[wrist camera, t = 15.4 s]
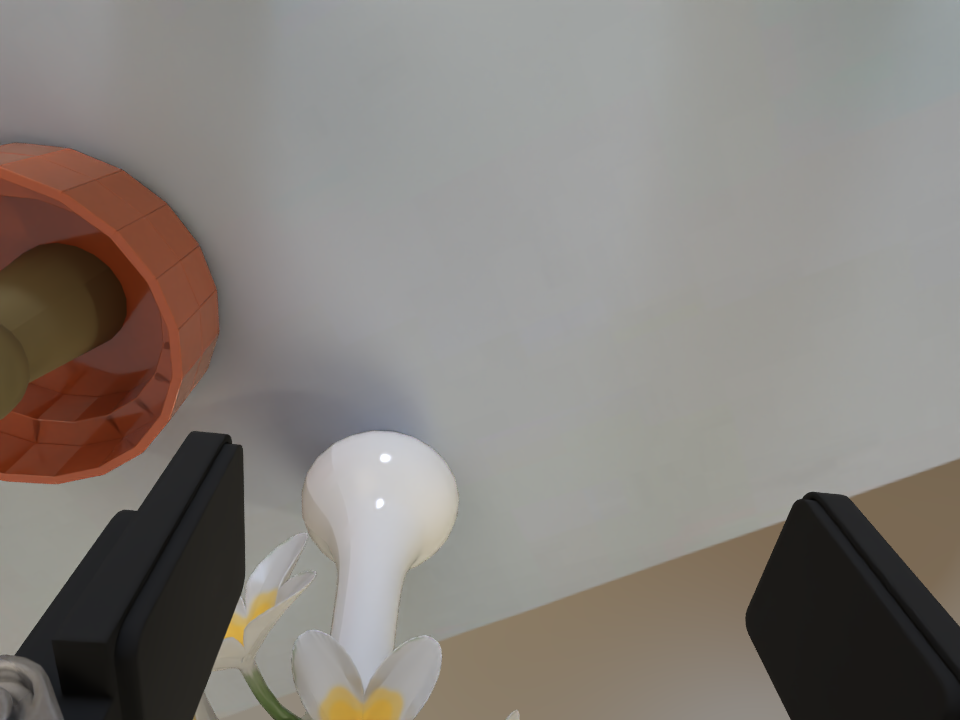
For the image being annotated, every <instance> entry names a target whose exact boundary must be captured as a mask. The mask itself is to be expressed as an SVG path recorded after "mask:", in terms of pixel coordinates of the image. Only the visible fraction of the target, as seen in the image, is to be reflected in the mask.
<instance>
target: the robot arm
mask: <svg viewBox="0 0 960 720" xmlns="http://www.w3.org/2000/svg"><path fill="white" fill-rule="evenodd" d="M244 579H245V526H244V472H243V448H242V446H241V445H237V444H232V440H231V437H230V436H229V435H228V434H218V433H208V432H198V431H193V432H191V433H190V434H189V435H188V436H187V438H186V439H185V441H184V442H183V444H182V445H181V447H180V448H179V450H178V451H177V453H176V454H175V455H174V457H173V458H172V460H171V461H170V463H169V464H168V466H167V467H166V469H165V470H164V472H163V473H162V475H161V476H160V478H159V479H158V481H157V482H156V484H155V485H154V487H153V488H152V490H151V491H150V493H149V494H148V496H147V497H146V499H145V500H144V502H143V503H142V505H141V506H140V508H139V509H138V511H133V510H122V511H120V512H118V513H117V514H116V515H115V516H114V517H113V518H112V519H111V521H110V522H109V523H108V525H107V526H106V528H105V529H104V530H103V532H102V533H101V535H100V536H99V537H98V539H97V540H96V542H95V543H94V544H93V546H92V547H91V549H90V550H89V551H88V553H87V554H86V556H85V557H84V558H83V560H82V561H81V563H80V564H79V565H78V567H77V568H76V570H75V571H74V573H73V574H72V575H71V577H70V578H69V580H68V581H67V582H66V584H65V585H64V587H63V588H62V589H61V591H60V592H59V594H58V595H57V596H56V598H55V599H54V601H53V602H52V603H51V605H50V606H49V608H48V609H47V610H46V612H45V613H44V615H43V616H42V617H41V619H40V620H39V622H38V623H37V624H36V626H35V627H34V629H33V630H32V631H31V633H30V634H29V636H28V637H27V638H26V640H25V641H24V643H23V644H22V646H21V647H20V648H19V650H18V651H17V653H16V654H15V655H14V656H12V655H0V720H193V718H194V716H195V713H196V710H197V708H198V705H199V703H200V700H201V697H202V695H203V692H204V689H205V687H206V684H207V682H208V679H209V676H210V674H211V671H212V669H213V666H214V663H215V661H216V658H217V656H218V653H219V650H220V648H221V645H222V643H223V640H224V637H225V635H226V632H227V629H228V627H229V624H230V622H231V619H232V616H233V614H234V611H235V609H236V606H237V603H238V601H239V598H240V596H241V592H242V589H243V585H244ZM746 628H747V631H748V634H749V636H750V638H751V640H752V642H753V644H754V646H755V648H756V650H757V652H758V654H759V656H760V658H761V660H762V662H763V664H764V666H765V668H766V670H767V672H768V674H769V676H770V679H771V681H772V682H773V685H774V687H775V689H776V691H777V693H778V695H779V697H780V698H781V701H782V703H783V705H784V707H785V709H786V711H787V713H788V715H789V717H790V719H791V720H960V627H959V625H958V624H957V623H956V622H955V621H954V620H953V618H952V617H951V616H950V615H949V614H948V613H947V611H946V610H945V609H944V608H943V607H942V606H941V604H940V603H939V602H938V601H937V600H936V599H935V598H934V596H933V595H932V594H931V593H930V592H929V590H928V589H927V588H926V587H925V586H924V585H923V583H922V582H921V581H920V580H919V579H918V578H917V577H916V575H915V574H914V573H913V572H912V571H911V570H910V568H909V567H908V566H907V565H906V564H905V563H904V562H903V560H902V559H901V558H900V557H899V556H898V554H897V553H896V552H895V551H894V550H893V549H892V548H891V546H890V545H889V544H888V543H887V542H886V540H885V539H884V538H883V537H882V536H881V535H880V533H879V532H878V531H877V530H876V529H875V528H874V526H873V525H872V524H871V523H870V522H869V521H868V520H867V518H866V517H865V516H864V515H863V514H862V513H861V511H860V510H859V509H858V508H857V507H856V506H855V504H854V503H853V502H852V501H851V500H850V499H849V498H848V497H847V496H844V495H839V494H829V493H819V492H809V493H807V494H806V495H805V496H804V497H803V498H802V499H799V500H797V501H796V502H795V503H794V504H793V506H792V508H791V510H790V513H789V515H788V517H787V520H786V522H785V524H784V526H783V529H782V531H781V533H780V536H779V538H778V540H777V542H776V545H775V547H774V549H773V551H772V554H771V556H770V559H769V561H768V563H767V565H766V567H765V570H764V572H763V574H762V577H761V579H760V581H759V583H758V586H757V588H756V591H755V593H754V595H753V597H752V599H751V602H750V604H749V606H748V609H747V612H746Z"/></svg>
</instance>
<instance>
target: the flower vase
mask: <svg viewBox="0 0 960 720" xmlns="http://www.w3.org/2000/svg"><path fill="white" fill-rule="evenodd" d="M301 496H302V516H303V520H304V522H305V525H306V528H307V530H308V533H309V536H310V537H311V539H312V540H313V541H314V543H315V544H316V545H317V547H318V548H319V549H320V551H321V552H322V553H323V554H324V555H326V556H327V557H328V558H329V559H331V560H332V561H333V562H334V563H336V568H337V589H336V597H335V604H334V611H333V618H332V625H331V632H330V635H328V634H326V633H324V632H323V631H318V630H308V631H306V632H305V633H303V634H302V635H300V636H298V638H297V640H296V641H295V643H294V647H293V649H292V658H291V663H292V673H293V679H294V683H295V686H296V689H297V693H298V695H299V697H300V699H301V702H302V704H303V705H304V707H305V709H306V713H305V715H304V716H303V717H302V718H299V717H298V716H296V715H294V714H293V713H292V712H290V711H289V710H287V709H286V708H285V707H283V706H282V705H281V704H280V703H279V701H278V700H277V699H276V697H275V696H274V695H273V693H272V692H271V691H270V689H269V688H268V686H267V685H266V683H265V681H264V679H263V677H262V675H261V673H260V671H259V669H258V667H257V664H256V662H255V660H254V658H255V655H256V653H257V651H258V649H259V648H260V646H261V644H262V643H263V641H264V639H265V638H266V636H267V635H268V633H269V632H270V630H271V629H272V627H273V626H274V624H275V623H276V622H277V620H278V619H279V618H280V617H281V615H282V614H283V613H284V612H285V611H286V610H287V608H288V607H289V606H290V605H291V604H292V603H293V602H294V601H295V600H296V598H297V597H298V596H299V595H300V594H301V593H302V592H303V591H304V590H305V589H306V588H307V587H308V586H309V584H310V583H311V582H312V581H313V579H314V578H315V577H316V574H317V573H316V572H315V571H312V570H310V571H305V572H303V573H299V574H298V575H296V576H293V577H292V578H291V579H289V577H290V575H291V573H292V571H293V569H294V567H295V565H296V563H297V561H298V559H299V557H300V555H301V553H302V551H303V549H304V547H305V545H306V542H307V540H308V534H307V533H299V534H297V535H294V536H293V537H291V538H289V539H287V540H286V541H285V542H283V543H281V544H280V545H279V546H278V547H277V548H275V549H274V550H273V551H272V552H271V553H269V554H268V555H267V556H266V557H265V558H264V559H263V560H262V561H261V562H260V563H259V565H258V566H257V567H256V569H255V570H254V571H253V573H252V574H251V576H250V578H249V580H248V582H247V585H246V596H245V603H246V607H245V604H244V601H243V599H242V597H241V596H240V598H239V601H238V603H237V606H236V609H235V611H234V614H233V616H232V619H231V622H230V624H229V627H228V629H227V632H226V635H225V637H224V640H223V643H222V645H221V648H220V650H219V653H218V656H217V658H216V661H215V663H214V666H213V669H212V671H216V670H225V669H228V668H237V669H239V670H240V671H241V673H242V675H243V677H244V678H245V680H246V682H247V683H248V685H249V687H250V689H251V690H252V692H253V694H254V695H255V697H256V698H257V700H258V701H259V703H260V704H261V705H262V706H263V707H264V709H265V710H266V711H267V712H268V713H269V714H270V716H271V717H272V718H273V719H275V720H413V719H414V718H415V717H416V716H417V714H418V713H419V711H420V710H421V709H422V708H423V706H424V704H425V703H426V701H427V700H428V698H429V697H430V695H431V693H432V690H433V689H434V687H435V684H436V682H437V679H438V677H439V672H440V669H441V661H442V653H441V648H440V645H439V643H438V642H437V641H436V640H435V639H433V638H432V637H431V636H426V635H423V636H417V637H415V638H412V639H409V640H408V641H406V642H404V643H402V644H401V645H400V646H398V647H397V648H396V649H394V644H395V636H396V628H397V620H398V612H399V604H400V598H401V592H402V587H403V583H404V580H405V576H406V574H407V572H408V570H410V569H412V568H415V567H417V566H419V565H420V564H422V563H423V562H424V561H426V560H427V559H429V558H430V557H431V556H433V555H434V554H435V553H436V552H437V551H438V550H439V549H440V547H441V546H442V545H443V544H444V543H445V541H446V540H447V539H448V537H449V535H450V533H451V530H452V528H453V525H454V523H455V521H456V518H457V514H458V504H459V492H458V488H457V484H456V480H455V476H454V475H453V473H452V471H451V470H450V468H449V466H448V465H447V463H446V461H445V460H444V459H443V458H442V457H441V456H440V455H439V454H438V453H437V452H436V451H435V450H434V449H433V448H432V447H430V446H429V445H427V444H425V443H423V442H422V441H420V440H418V439H416V438H414V437H412V436H409V435H405V434H401V433H398V432H394V431H369V432H363V433H358V434H354V435H351V436H349V437H347V438H345V439H342V440H340V441H338V442H336V443H334V444H333V445H331V446H330V447H329V448H328V449H327V450H325V451H324V452H323V453H322V454H320V455H319V456H318V458H317V459H316V460H315V462H314V463H313V465H312V466H311V468H310V469H309V471H308V472H307V475H306V478H305V482H304V485H303V488H302V493H301ZM288 579H289V580H288ZM193 720H218V718H217V716H216V715H215V713H214V711H213V709H212V707H211V705H210V703H209V701H208V699H207V697H206V695H205V693H204V692H203V695H202V697H201V700H200V703H199V705H198V708H197V710H196V713H195V716H194V718H193ZM506 720H519V712H518V710H514V711H513V712H512V713H511V714H510V715H509V716H508V717H507V718H506Z"/></svg>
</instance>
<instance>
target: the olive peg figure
mask: <svg viewBox="0 0 960 720" xmlns="http://www.w3.org/2000/svg"><path fill="white" fill-rule="evenodd" d="M126 315H127V307H126V296H125V294H124V291H123V288H122V285H121V283H120V281H119V280H118V278H117V277H116V276H115V274H114V273H113V271H112V270H111V269H110V267H108V266H107V265H106V264H105V263H104V262H102V261H101V260H100V259H99V258H97V257H96V256H95V255H94V254H91V253H89V252H87V251H85V250H83V249H81V248H79V247H76V246H72V245H66V244H60V243H51V244H43V245H38V246H36V247H34V248H32V249H30V250H28V251H26V252H24V253H23V254H21V255H20V256H19V257H18V258H16V259H15V260H14V261H12V262H11V263H10V264H9V265H7V266H6V267H5V268H4V269H2V270H1V271H0V420H1V419H3V418H4V417H5V416H6V415H8V414H9V413H10V412H11V411H12V410H13V409H14V408H15V407H16V406H17V404H18V403H19V402H20V401H21V400H22V398H23V396H24V394H25V392H26V389H27V386H28V383H30V382H32V381H34V380H36V379H38V378H39V377H41V376H43V375H45V374H47V373H49V372H51V371H53V370H55V369H56V368H58V367H60V366H62V365H64V364H66V363H68V362H70V361H72V360H73V359H75V358H77V357H79V356H81V355H83V354H85V353H87V352H89V351H90V350H92V349H94V348H96V347H98V346H100V345H102V344H104V343H106V342H107V341H109V340H111V339H112V338H113V337H114V336H115V335H116V334H117V333H118V332H119V331H120V330H121V328H122V326H123V323H124V320H125V318H126Z"/></svg>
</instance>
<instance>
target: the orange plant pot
mask: <svg viewBox="0 0 960 720" xmlns="http://www.w3.org/2000/svg"><path fill="white" fill-rule="evenodd" d="M51 243H60V244H66V245H72V246H76V247H79V248H81V249H83V250H85V251H87V252H89V253H91V254H94V255H95V256H96V257H97V258H99V259H100V260H101V261H102V262H104V263H105V264H106V265H107V266H108V267H110V269H111V270H112V271H113V273H114V274H115V276H116V277H117V278H118V280H119V281H120V283H121V285H122V288H123V291H124V294H125V296H126V307H127V315H126V318H125V320H124V323H123V326H122V328H121V330H120V331H119V332H118V333H117V334H116V335H115V336H114V337H113V338H112V339H111V340H109V341H107V342H106V343H104V344H102V345H100V346H98V347H96V348H94V349H92V350H90V351H89V352H87V353H85V354H83V355H81V356H79V357H77V358H75V359H73V360H72V361H70V362H68V363H66V364H64V365H62V366H60V367H58V368H56V369H55V370H53V371H51V372H49V373H47V374H45V375H43V376H41V377H39V378H38V379H36V380H34V381H32V382H30V383H28V386H27V389H26V392H25V394H24V396H23V398H22V400H21V401H20V402H19V403H18V404H17V406H16V407H15V408H14V409H13V410H12V411H11V412H10V413H9V414H8V415H6V416H5V417H4V418H3V419H1V420H0V480H2V481H9V482H26V483H43V484H61V483H66V482H71V481H75V480H80V479H85V478H90V477H95V476H100V475H104V474H106V473H108V472H110V471H111V470H113V469H115V468H117V467H118V466H120V465H122V464H124V463H126V462H127V461H129V460H131V459H133V458H134V457H136V456H138V455H140V454H142V453H143V452H144V451H145V450H146V448H147V447H148V446H149V445H150V444H151V442H152V441H153V440H154V439H155V438H156V436H157V435H158V434H159V433H160V432H161V430H162V429H163V428H164V427H165V426H166V424H167V423H168V422H169V421H170V419H171V418H172V417H173V415H174V414H175V413H176V411H177V410H178V409H179V407H180V406H181V405H182V403H183V402H184V401H185V399H186V398H187V397H188V395H189V394H190V392H191V391H192V390H193V388H194V387H195V386H196V384H197V383H198V382H199V380H200V379H201V378H202V376H203V375H204V374H205V372H206V371H207V369H208V367H209V363H210V360H211V357H212V354H213V351H214V348H215V345H216V342H217V338H218V335H219V315H218V296H217V290H216V286H215V283H214V281H213V278H212V276H211V273H210V271H209V268H208V266H207V263H206V261H205V258H204V256H203V253H202V251H201V248H200V246H199V244H198V243H197V241H196V240H195V239H194V237H193V236H192V235H191V234H190V232H189V231H188V230H187V228H186V227H185V226H184V224H183V223H182V222H181V221H180V219H179V218H178V217H177V215H176V214H175V213H174V212H173V210H172V209H171V208H170V206H169V205H168V204H167V203H166V202H165V201H163V200H162V199H161V198H159V197H158V196H157V195H155V194H154V193H153V192H151V191H150V190H149V189H147V188H146V187H145V186H143V185H142V184H141V183H139V182H138V181H137V180H135V179H134V178H133V177H132V176H130V175H129V174H128V173H126V172H125V171H123V170H122V169H119V168H117V167H115V166H112V165H110V164H107V163H105V162H102V161H100V160H97V159H95V158H93V157H90V156H88V155H85V154H83V153H80V152H78V151H75V150H73V149H69V148H63V147H54V146H44V145H35V144H26V143H11V144H6V145H1V146H0V271H1V270H2V269H4V268H5V267H6V266H7V265H9V264H10V263H11V262H12V261H14V260H15V259H16V258H18V257H19V256H20V255H21V254H23V253H24V252H26V251H28V250H30V249H32V248H34V247H36V246H38V245H43V244H51Z"/></svg>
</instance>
